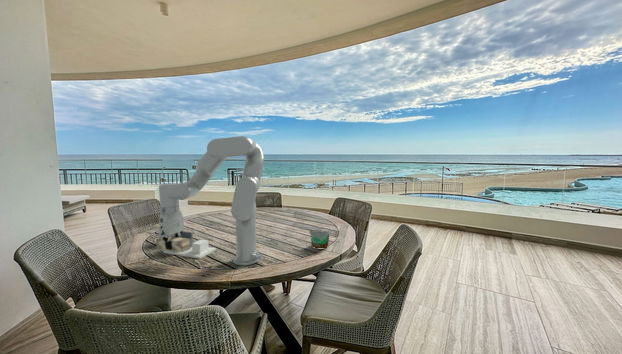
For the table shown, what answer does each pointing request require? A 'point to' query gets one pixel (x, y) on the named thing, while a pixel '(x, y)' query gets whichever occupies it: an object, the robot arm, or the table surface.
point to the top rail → (174, 244)
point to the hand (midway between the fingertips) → (173, 246)
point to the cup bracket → (193, 247)
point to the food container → (319, 238)
